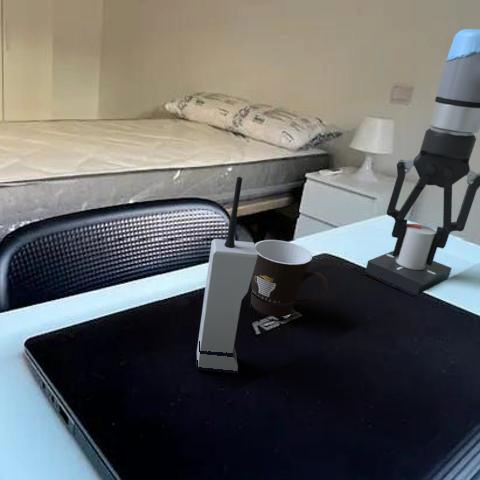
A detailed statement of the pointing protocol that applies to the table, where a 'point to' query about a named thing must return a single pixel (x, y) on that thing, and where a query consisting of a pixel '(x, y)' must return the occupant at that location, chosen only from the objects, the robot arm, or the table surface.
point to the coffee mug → (281, 276)
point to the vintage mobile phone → (225, 294)
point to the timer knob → (415, 246)
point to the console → (407, 273)
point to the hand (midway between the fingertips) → (412, 258)
